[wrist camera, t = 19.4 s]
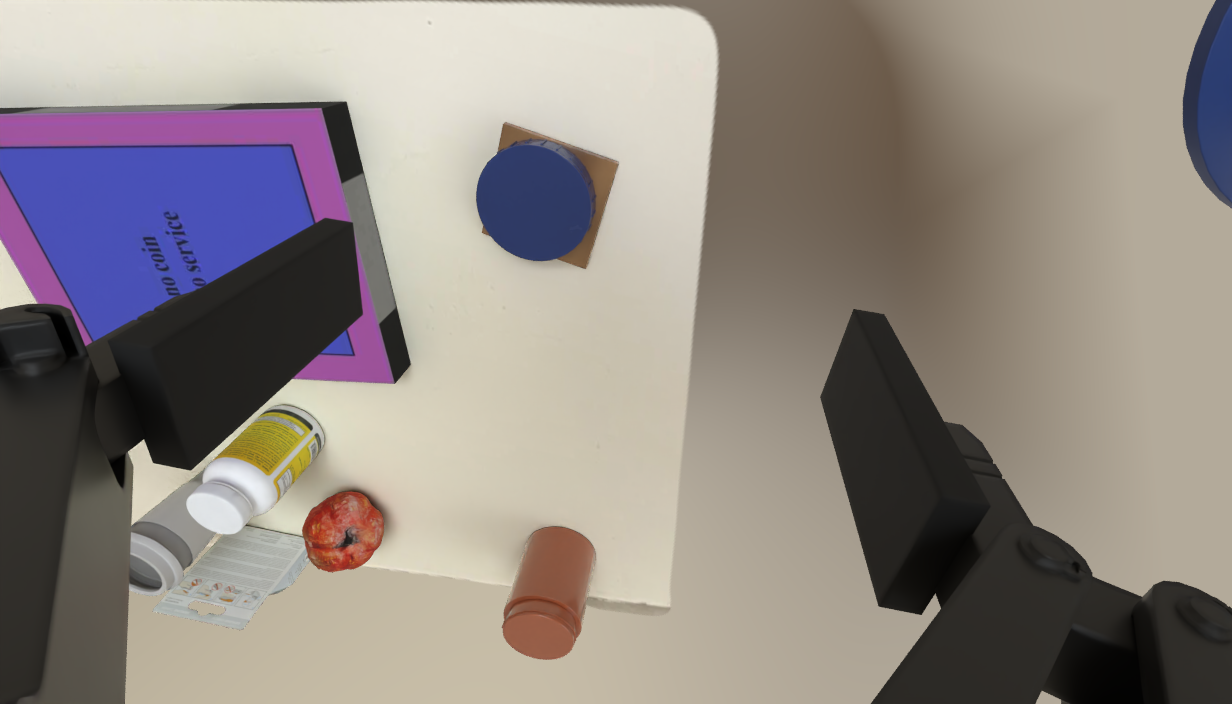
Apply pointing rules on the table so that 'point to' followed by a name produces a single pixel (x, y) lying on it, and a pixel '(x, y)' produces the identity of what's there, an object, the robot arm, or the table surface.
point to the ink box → (238, 576)
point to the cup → (166, 543)
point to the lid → (536, 199)
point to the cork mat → (599, 172)
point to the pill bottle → (256, 469)
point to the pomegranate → (342, 532)
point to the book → (187, 211)
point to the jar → (549, 593)
